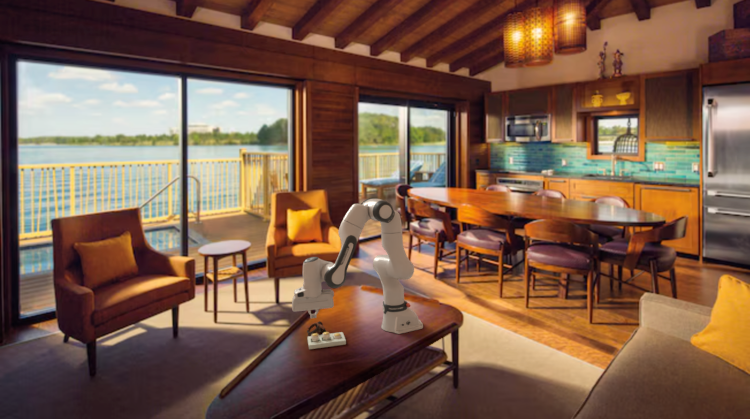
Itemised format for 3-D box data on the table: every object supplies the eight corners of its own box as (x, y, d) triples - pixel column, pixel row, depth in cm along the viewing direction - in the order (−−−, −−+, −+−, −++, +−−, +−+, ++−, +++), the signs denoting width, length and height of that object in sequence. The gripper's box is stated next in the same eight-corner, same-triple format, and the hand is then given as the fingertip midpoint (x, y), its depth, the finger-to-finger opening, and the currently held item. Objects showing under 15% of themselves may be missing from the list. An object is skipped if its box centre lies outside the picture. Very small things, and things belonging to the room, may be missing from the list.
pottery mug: (327, 341, 213) (319, 329, 211) (312, 348, 215) (303, 336, 213) (330, 325, 224) (322, 314, 222) (315, 332, 227) (307, 321, 224)
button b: (329, 337, 211) (329, 331, 210) (330, 340, 207) (330, 334, 207) (322, 338, 210) (322, 332, 209) (323, 341, 206) (322, 335, 206)
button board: (342, 337, 216) (342, 332, 215) (346, 346, 206) (345, 340, 206) (307, 342, 212) (307, 336, 211) (309, 351, 202) (308, 345, 202)
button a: (340, 338, 212) (340, 332, 212) (341, 341, 209) (341, 335, 208) (333, 339, 211) (333, 333, 211) (334, 342, 208) (334, 336, 207)
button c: (318, 338, 209) (318, 332, 209) (319, 341, 206) (319, 335, 206) (311, 339, 209) (310, 333, 208) (311, 342, 205) (311, 336, 205)
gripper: (332, 286, 209) (333, 313, 211) (291, 290, 204) (292, 317, 206) (334, 290, 203) (335, 317, 205) (291, 294, 198) (292, 322, 200)
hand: (313, 317), depth 205 cm, fingers closed
